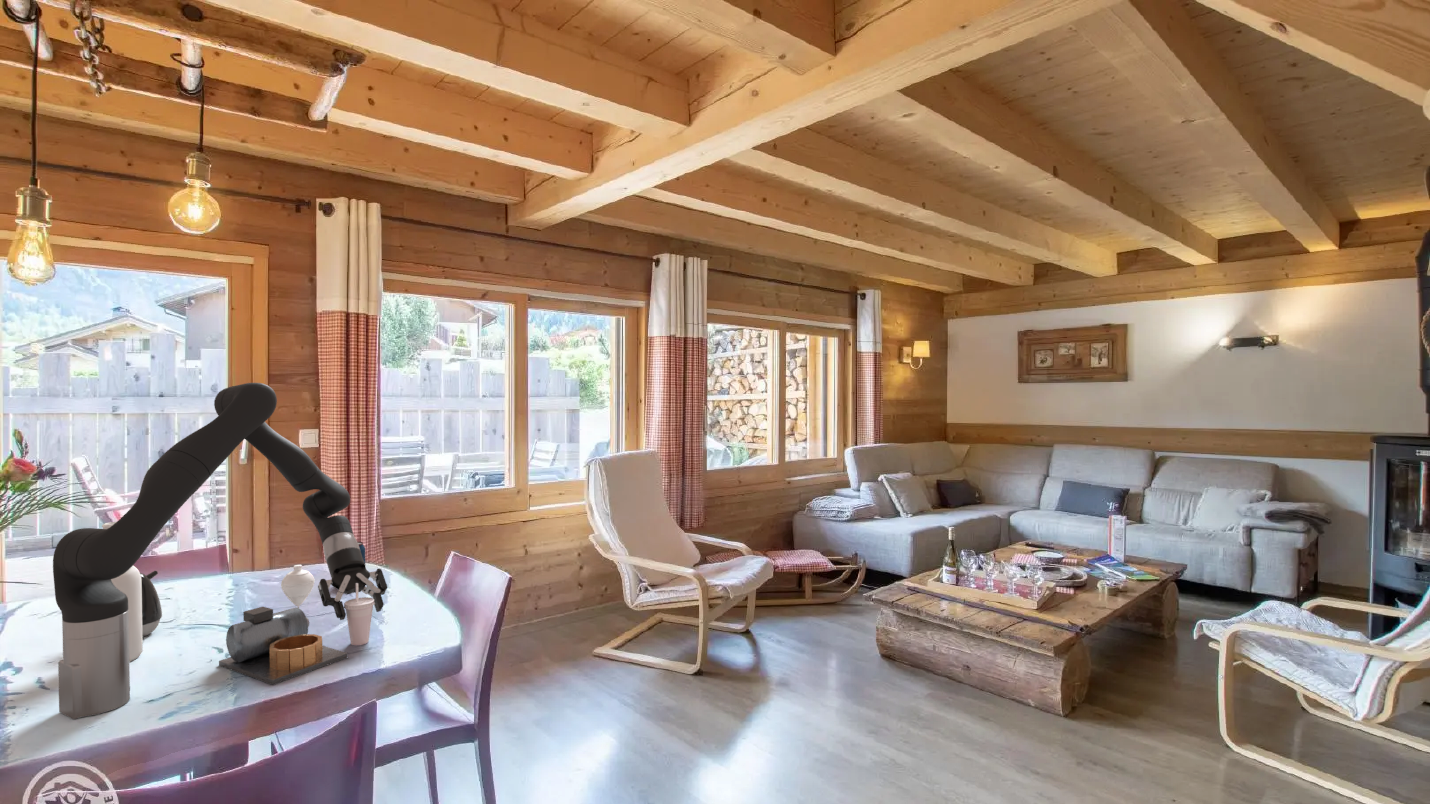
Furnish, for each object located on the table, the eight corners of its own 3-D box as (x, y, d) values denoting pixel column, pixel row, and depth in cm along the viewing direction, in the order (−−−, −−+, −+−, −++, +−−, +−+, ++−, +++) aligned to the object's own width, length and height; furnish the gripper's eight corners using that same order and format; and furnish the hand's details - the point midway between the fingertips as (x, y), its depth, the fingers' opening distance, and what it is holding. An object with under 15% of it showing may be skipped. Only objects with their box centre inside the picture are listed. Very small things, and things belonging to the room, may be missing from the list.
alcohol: (100, 670, 146) (97, 528, 145) (82, 662, 150) (79, 524, 150) (150, 656, 154) (148, 521, 153) (131, 649, 158) (129, 517, 157)
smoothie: (338, 644, 161) (337, 584, 161) (363, 635, 167) (362, 577, 166) (356, 649, 158) (355, 588, 158) (381, 640, 164) (380, 581, 163)
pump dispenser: (173, 630, 170) (172, 568, 170) (127, 645, 160) (126, 580, 160) (142, 626, 173) (141, 565, 173) (95, 641, 163) (94, 576, 163)
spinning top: (274, 613, 183) (273, 567, 183) (298, 604, 190) (297, 560, 190) (298, 615, 181) (297, 569, 181) (321, 606, 189) (321, 562, 188)
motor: (272, 684, 139) (272, 631, 139) (218, 665, 149) (218, 615, 149) (349, 656, 154) (349, 608, 154) (296, 640, 163) (295, 595, 163)
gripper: (314, 551, 162) (332, 612, 154) (378, 541, 172) (397, 598, 165) (307, 570, 166) (324, 630, 158) (370, 559, 176) (389, 615, 168)
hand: (361, 613), depth 161 cm, fingers open, 7 cm apart
